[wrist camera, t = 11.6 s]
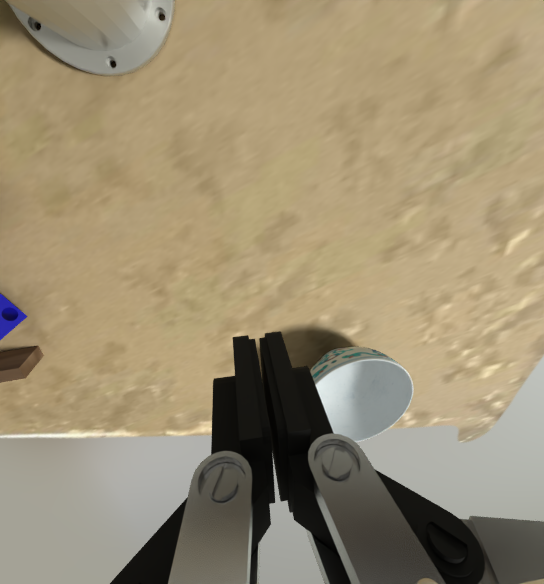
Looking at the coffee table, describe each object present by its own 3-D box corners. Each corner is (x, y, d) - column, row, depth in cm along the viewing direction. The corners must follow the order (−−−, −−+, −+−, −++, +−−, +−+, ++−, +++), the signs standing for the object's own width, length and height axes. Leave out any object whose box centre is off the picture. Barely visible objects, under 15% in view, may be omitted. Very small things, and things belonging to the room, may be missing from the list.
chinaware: (293, 409, 49) (304, 453, 42) (285, 333, 42) (298, 372, 35) (381, 391, 50) (407, 431, 43) (388, 315, 43) (420, 349, 36)
